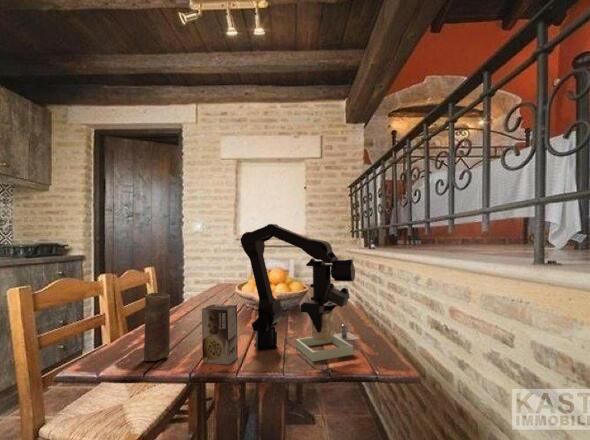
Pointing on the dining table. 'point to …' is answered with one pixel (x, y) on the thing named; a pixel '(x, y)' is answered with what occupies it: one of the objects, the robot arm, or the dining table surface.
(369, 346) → the dining table surface
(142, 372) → the dining table surface
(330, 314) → the tan rectangular block
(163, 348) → the candle
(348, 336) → the stud block
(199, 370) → the dining table surface
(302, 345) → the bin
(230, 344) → the coffee box
